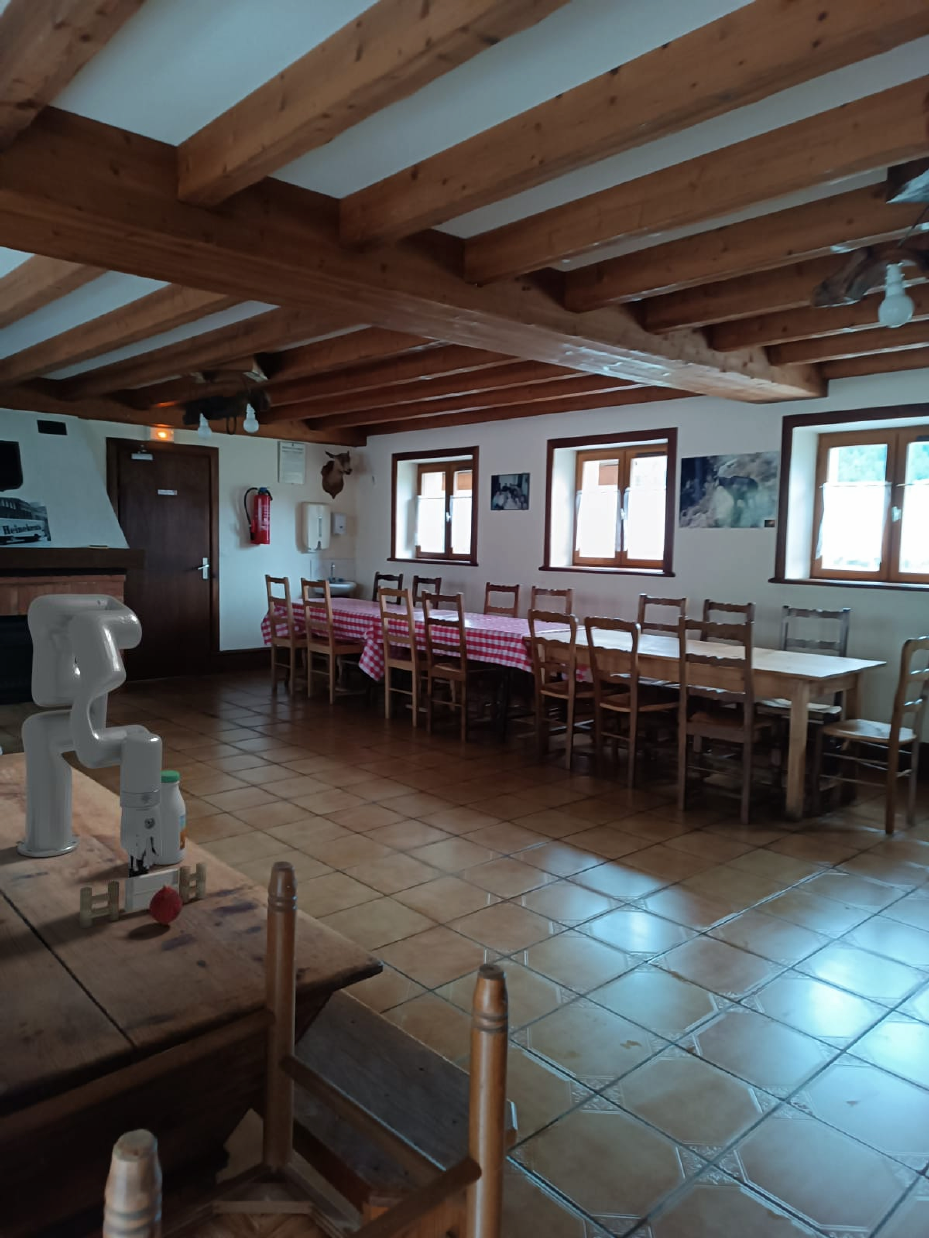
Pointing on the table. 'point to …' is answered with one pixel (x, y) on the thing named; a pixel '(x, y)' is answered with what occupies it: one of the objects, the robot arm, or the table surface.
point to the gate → (147, 888)
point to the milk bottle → (171, 820)
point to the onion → (165, 905)
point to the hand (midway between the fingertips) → (138, 887)
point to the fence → (113, 895)
